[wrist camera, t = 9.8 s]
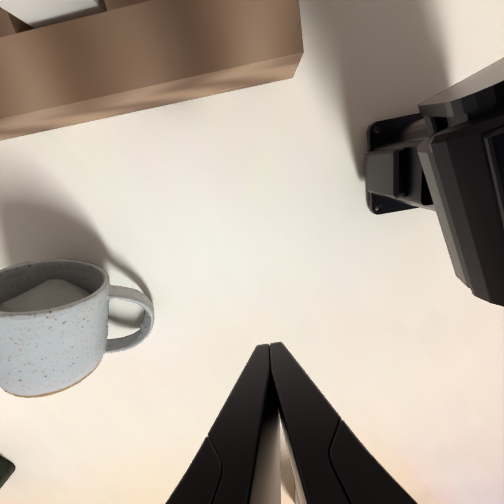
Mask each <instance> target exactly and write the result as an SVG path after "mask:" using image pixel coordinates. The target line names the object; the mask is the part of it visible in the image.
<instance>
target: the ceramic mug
mask: <svg viewBox="0 0 504 504" xmlns="http://www.w3.org/2000/svg"><path fill="white" fill-rule="evenodd" d="M111 298H117V299H121V300H127V301H131V302H134V303H137V304H138V305H140V306H141V307H143V309H144V310H146V312H145V317H144V320H143V322H142V323H141V324H140V330H138V331H137V332H135V333H134V334H131V335H128V336H125V337H122V338H116V339H107V335H108V325H107V322H108V311H109V299H111ZM153 324H154V309H153V305H152V302H151V300H150V299H149V298H148V297H147V296H146V295H145V294H144V293H142V292H140V291H138V290H135V289H132V288H127V287H122V286H113V285H110V282H109V276H108V275H107V273H106V272H105V271H104V270H103V269H102V268H100V267H99V266H96V265H94V264H91V263H87V262H83V261H77V260H68V259H67V260H65V259H53V260H40V261H32V262H26V263H23V264H18V265H14V266H11V267H8V268H5V269H2V270H0V387H1V388H2V389H3V390H4V391H5V392H7V393H10V394H12V395H14V396H18V397H26V398H32V397H43V396H48V395H52V394H55V393H58V392H61V391H64V390H66V389H68V388H70V387H72V386H74V385H76V384H78V383H79V382H81V381H82V380H83V379H85V378H86V377H87V376H89V375H90V374H91V373H92V372H93V371H94V370H95V369H96V367H97V366H98V365H99V363H100V361H101V359H102V357H103V355H104V354H105V353H113V352H119V351H124V350H127V349H130V348H132V347H135V346H137V345H138V344H140V343H141V342H142V341H143V340H144V339H145V338H146V337H148V335H149V333H150V332H151V330H152V327H153Z"/></svg>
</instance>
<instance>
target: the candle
mask: <svg viewBox="0 0 504 504" xmlns="http://www.w3.org/2000/svg"><path fill="white" fill-rule="evenodd" d="M14 471H15V466H14V464H13V463H11V462H10V461H8V460H6V459H4V458H2V457H0V489H1V487H2V486H3V485H4V483H5V482H6V481H7V480H8V478H9V477H10V476H11V475H12V473H13V472H14Z"/></svg>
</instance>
